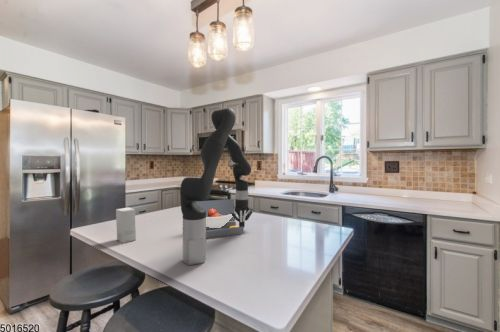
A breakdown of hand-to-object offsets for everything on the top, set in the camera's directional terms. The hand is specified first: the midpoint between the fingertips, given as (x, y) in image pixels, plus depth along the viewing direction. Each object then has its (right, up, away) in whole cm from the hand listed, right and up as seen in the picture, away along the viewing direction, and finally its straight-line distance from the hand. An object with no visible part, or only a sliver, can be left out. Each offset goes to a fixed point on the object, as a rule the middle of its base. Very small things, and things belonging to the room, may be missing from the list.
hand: (241, 227), depth 136 cm
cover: (-16, +9, +2) cm, 18 cm away
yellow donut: (-4, -2, -1) cm, 5 cm away
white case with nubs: (-12, -1, -5) cm, 14 cm away
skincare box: (-57, -1, -19) cm, 60 cm away
